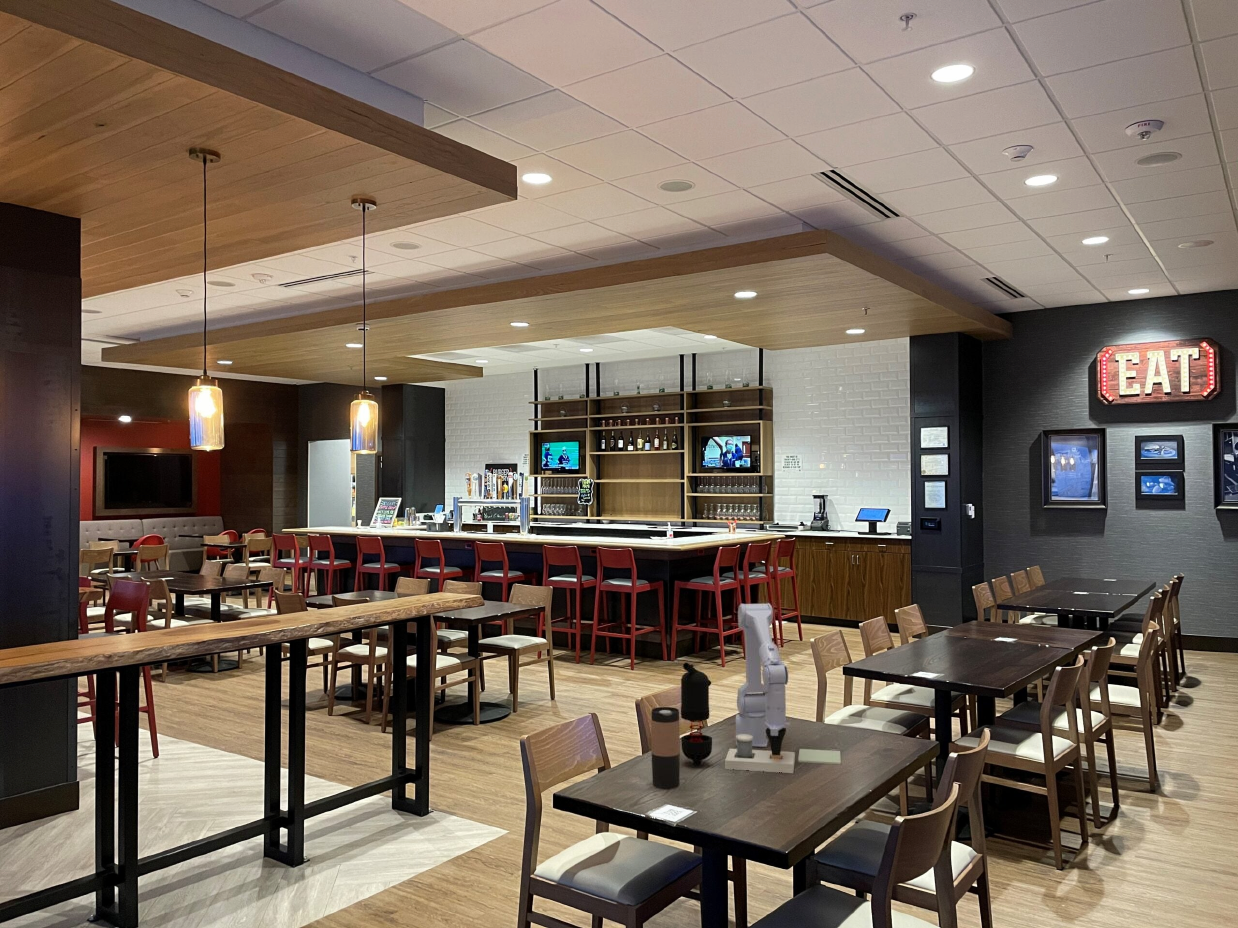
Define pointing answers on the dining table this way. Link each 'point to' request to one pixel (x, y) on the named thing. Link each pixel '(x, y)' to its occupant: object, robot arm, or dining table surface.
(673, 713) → the travel mug
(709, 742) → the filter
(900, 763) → the dining table surface
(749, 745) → the cylinder
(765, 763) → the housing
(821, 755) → the mat
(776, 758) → the plunger
